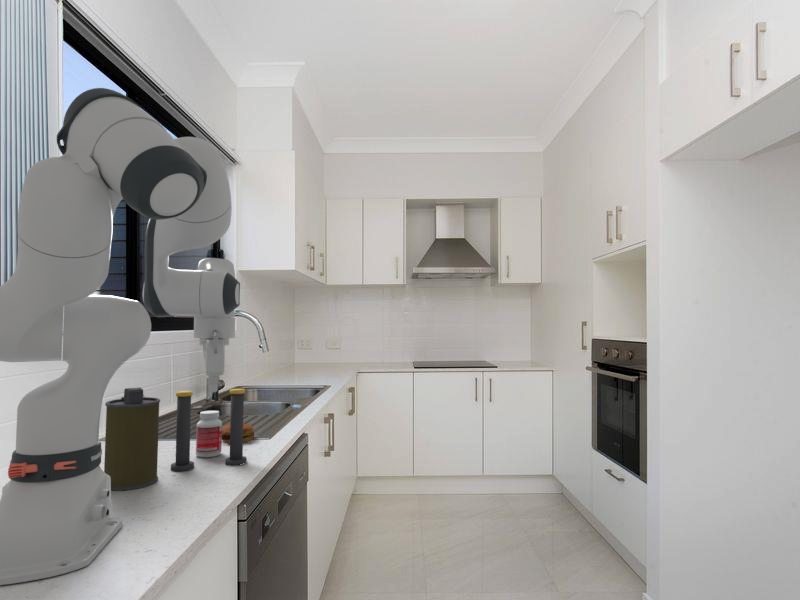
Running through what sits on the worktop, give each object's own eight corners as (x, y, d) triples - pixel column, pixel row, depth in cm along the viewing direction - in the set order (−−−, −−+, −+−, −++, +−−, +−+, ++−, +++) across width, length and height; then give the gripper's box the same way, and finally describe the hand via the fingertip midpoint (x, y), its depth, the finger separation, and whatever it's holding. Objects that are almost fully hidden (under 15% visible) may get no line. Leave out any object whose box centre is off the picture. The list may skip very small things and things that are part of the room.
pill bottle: (223, 455, 126) (224, 412, 126) (198, 459, 122) (199, 415, 123) (218, 450, 131) (219, 408, 131) (193, 453, 127) (194, 411, 128)
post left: (193, 469, 114) (195, 392, 114) (170, 472, 112) (172, 394, 112) (193, 464, 118) (195, 390, 119) (171, 466, 116) (173, 391, 117)
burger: (237, 435, 149) (237, 419, 149) (260, 438, 145) (261, 422, 145) (211, 442, 140) (212, 426, 140) (236, 446, 136) (236, 429, 136)
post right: (247, 464, 118) (249, 390, 119) (225, 466, 116) (227, 391, 117) (245, 459, 123) (247, 387, 124) (224, 461, 121) (226, 388, 122)
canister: (164, 483, 104) (167, 389, 105) (109, 494, 97) (112, 393, 98) (149, 471, 112) (151, 384, 113) (96, 481, 105) (100, 387, 106)
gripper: (232, 332, 103) (230, 397, 103) (227, 328, 122) (225, 384, 121) (199, 332, 101) (198, 399, 100) (199, 328, 119) (198, 385, 119)
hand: (213, 391), depth 111 cm, fingers closed
